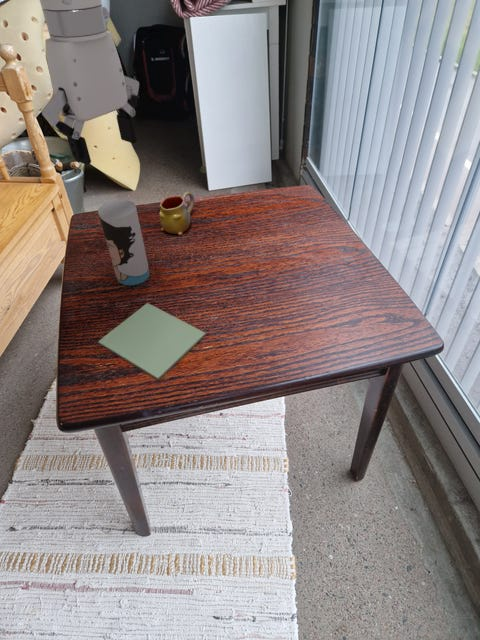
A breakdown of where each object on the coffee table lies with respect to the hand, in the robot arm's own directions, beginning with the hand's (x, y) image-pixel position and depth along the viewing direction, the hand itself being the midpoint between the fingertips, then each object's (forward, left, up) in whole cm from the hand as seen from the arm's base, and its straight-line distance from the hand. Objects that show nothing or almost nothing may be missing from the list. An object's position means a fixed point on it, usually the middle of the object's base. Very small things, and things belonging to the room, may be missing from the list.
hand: (107, 151), depth 68 cm
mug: (+21, +6, -26) cm, 34 cm away
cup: (0, +1, -26) cm, 26 cm away
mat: (-11, -15, -26) cm, 32 cm away
